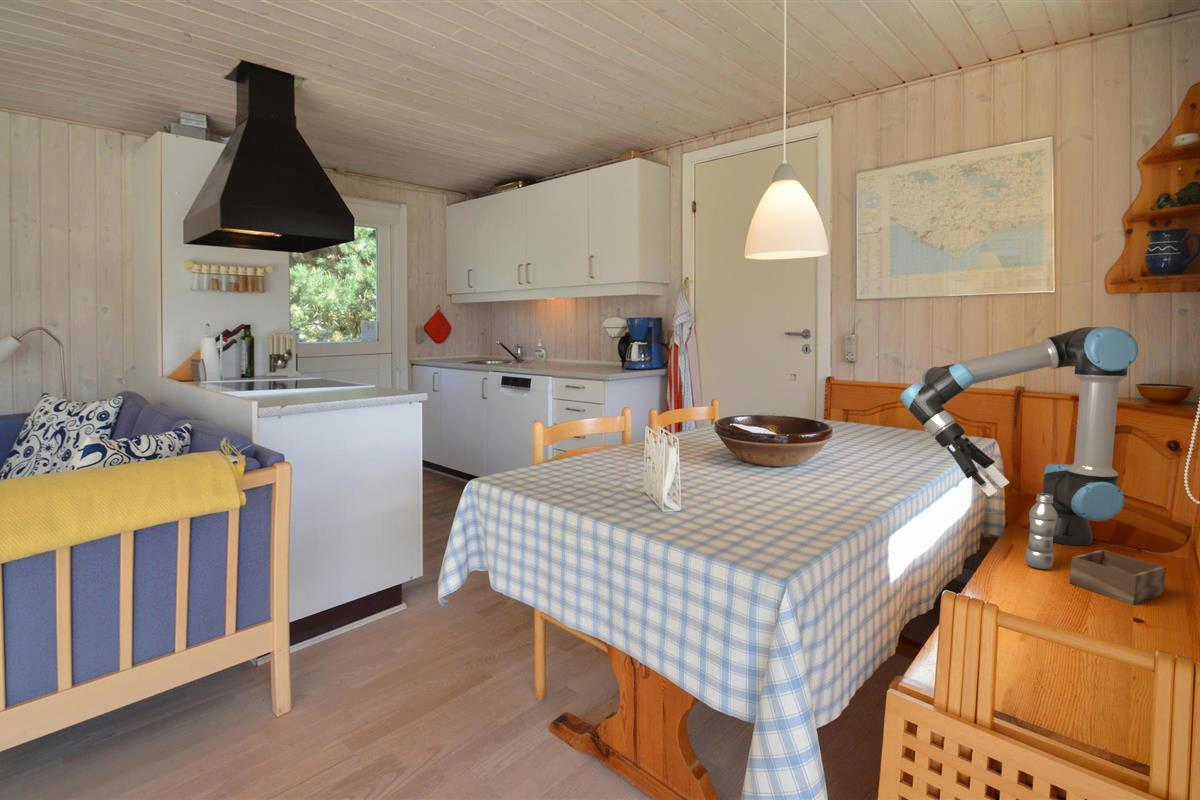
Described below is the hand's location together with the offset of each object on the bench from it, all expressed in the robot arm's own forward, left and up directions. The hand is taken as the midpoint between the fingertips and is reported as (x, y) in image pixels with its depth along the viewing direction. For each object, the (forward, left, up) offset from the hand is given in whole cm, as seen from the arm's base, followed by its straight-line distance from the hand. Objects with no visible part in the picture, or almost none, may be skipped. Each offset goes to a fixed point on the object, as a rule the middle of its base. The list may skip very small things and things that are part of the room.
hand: (999, 489), depth 178 cm
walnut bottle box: (-6, +27, -19) cm, 34 cm away
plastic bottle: (-4, +10, -20) cm, 22 cm away
